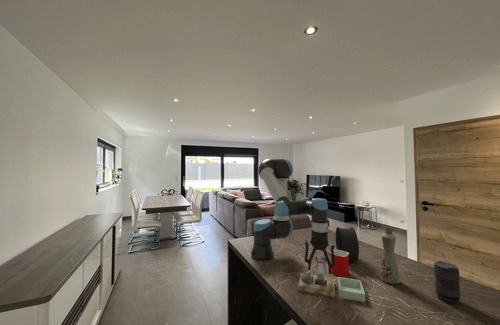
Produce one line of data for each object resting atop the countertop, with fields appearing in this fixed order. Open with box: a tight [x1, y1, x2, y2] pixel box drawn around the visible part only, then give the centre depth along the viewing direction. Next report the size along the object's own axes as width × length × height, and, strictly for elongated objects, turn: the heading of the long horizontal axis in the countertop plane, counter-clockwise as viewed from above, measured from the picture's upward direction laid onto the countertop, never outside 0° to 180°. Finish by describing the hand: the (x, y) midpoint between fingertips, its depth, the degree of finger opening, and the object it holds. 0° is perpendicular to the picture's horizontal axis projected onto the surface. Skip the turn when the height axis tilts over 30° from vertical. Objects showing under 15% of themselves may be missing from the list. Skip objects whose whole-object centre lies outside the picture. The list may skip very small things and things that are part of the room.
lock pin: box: [314, 255, 327, 286], centre depth 100 cm, size 5×5×14 cm
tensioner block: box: [298, 272, 336, 298], centre depth 100 cm, size 16×12×4 cm
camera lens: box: [433, 260, 461, 305], centre depth 90 cm, size 8×8×15 cm
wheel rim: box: [335, 226, 360, 262], centre depth 132 cm, size 20×9×20 cm, turn 168°
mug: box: [326, 249, 350, 278], centre depth 116 cm, size 12×8×11 cm
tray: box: [337, 276, 366, 303], centre depth 95 cm, size 10×12×4 cm
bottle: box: [378, 225, 401, 285], centre depth 106 cm, size 9×9×28 cm
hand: (319, 278), depth 100 cm, fingers open, 7 cm apart
